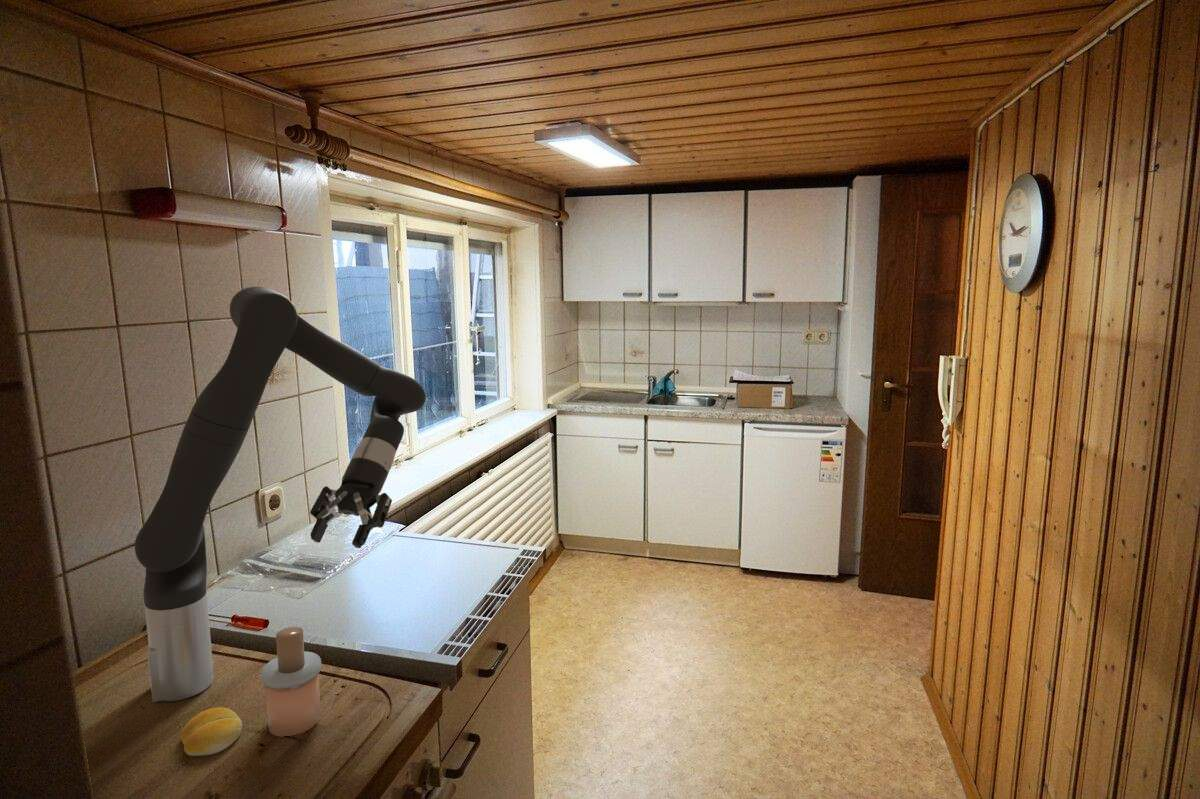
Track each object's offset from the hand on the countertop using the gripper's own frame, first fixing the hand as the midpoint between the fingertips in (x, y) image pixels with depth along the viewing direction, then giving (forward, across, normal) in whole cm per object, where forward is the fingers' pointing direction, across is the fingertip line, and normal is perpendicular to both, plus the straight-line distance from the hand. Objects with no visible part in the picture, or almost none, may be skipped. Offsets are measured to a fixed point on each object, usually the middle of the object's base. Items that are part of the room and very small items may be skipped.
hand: (335, 543), depth 115 cm
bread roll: (+33, -10, +5) cm, 35 cm away
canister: (+28, 0, +10) cm, 29 cm away
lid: (+22, 0, +4) cm, 22 cm away
